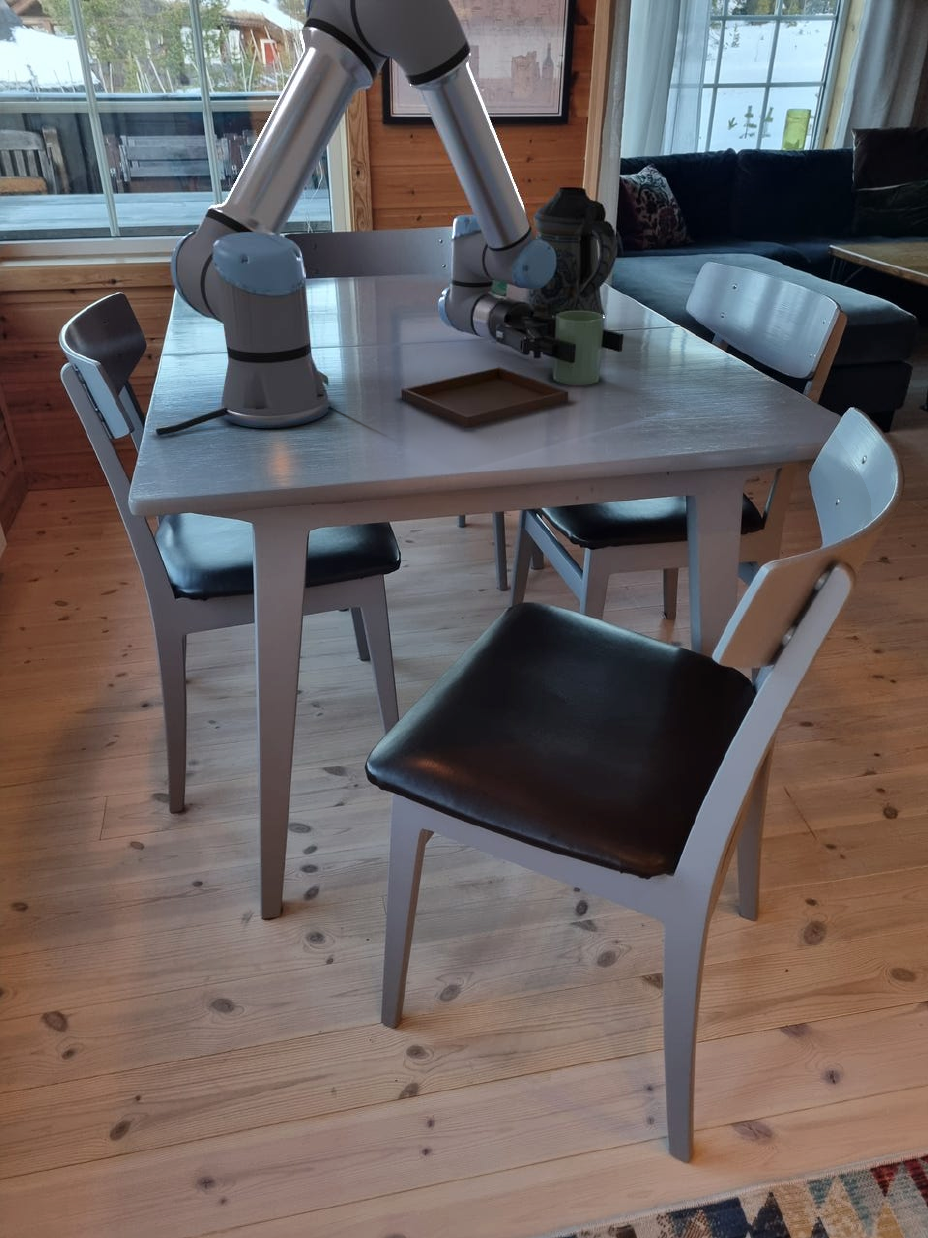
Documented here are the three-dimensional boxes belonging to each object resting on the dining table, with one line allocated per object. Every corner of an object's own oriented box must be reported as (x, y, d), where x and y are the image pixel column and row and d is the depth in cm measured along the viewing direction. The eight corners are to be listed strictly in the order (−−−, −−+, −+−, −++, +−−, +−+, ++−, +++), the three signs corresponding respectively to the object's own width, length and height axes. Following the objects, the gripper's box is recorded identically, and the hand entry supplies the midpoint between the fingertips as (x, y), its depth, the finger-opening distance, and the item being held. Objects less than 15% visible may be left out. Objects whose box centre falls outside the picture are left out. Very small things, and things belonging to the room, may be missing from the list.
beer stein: (536, 318, 177) (542, 181, 164) (629, 328, 170) (643, 186, 157) (503, 336, 164) (507, 189, 151) (602, 349, 157) (615, 195, 144)
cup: (575, 389, 137) (579, 323, 132) (543, 378, 142) (546, 314, 137) (608, 380, 141) (614, 316, 136) (576, 370, 146) (580, 308, 140)
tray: (467, 429, 121) (467, 417, 120) (401, 400, 132) (401, 388, 131) (567, 403, 131) (568, 391, 130) (499, 378, 142) (499, 367, 141)
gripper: (551, 333, 158) (644, 360, 143) (453, 353, 146) (543, 385, 131) (554, 290, 154) (649, 313, 139) (453, 307, 142) (545, 334, 128)
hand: (597, 348), depth 135 cm, fingers open, 10 cm apart
